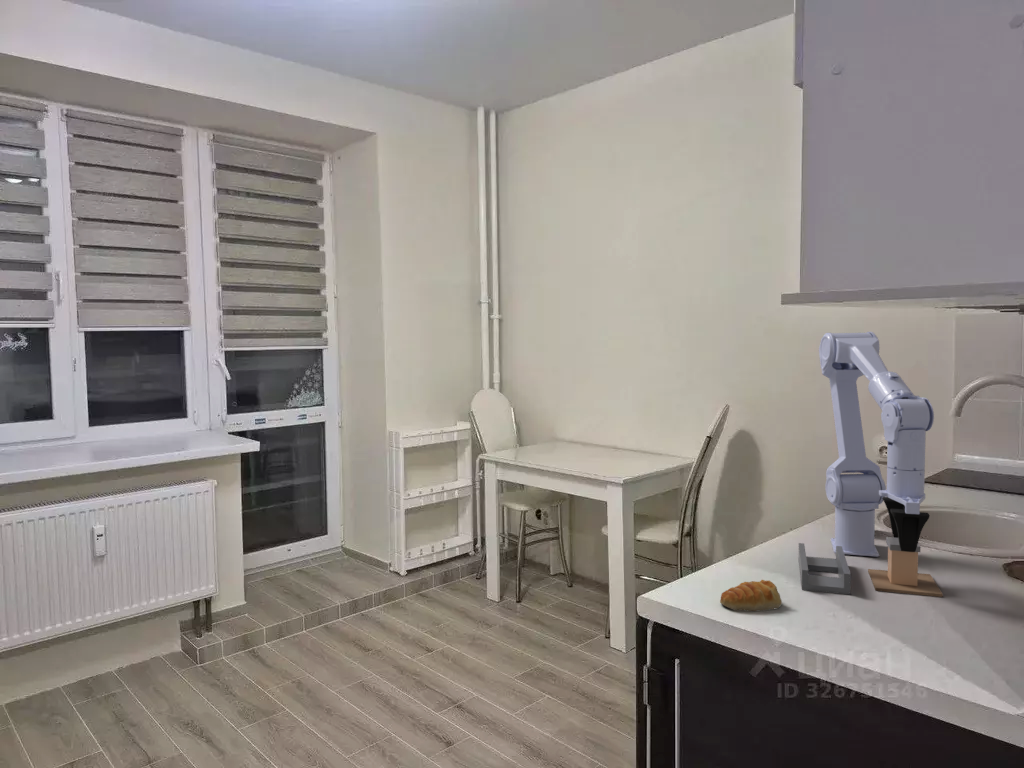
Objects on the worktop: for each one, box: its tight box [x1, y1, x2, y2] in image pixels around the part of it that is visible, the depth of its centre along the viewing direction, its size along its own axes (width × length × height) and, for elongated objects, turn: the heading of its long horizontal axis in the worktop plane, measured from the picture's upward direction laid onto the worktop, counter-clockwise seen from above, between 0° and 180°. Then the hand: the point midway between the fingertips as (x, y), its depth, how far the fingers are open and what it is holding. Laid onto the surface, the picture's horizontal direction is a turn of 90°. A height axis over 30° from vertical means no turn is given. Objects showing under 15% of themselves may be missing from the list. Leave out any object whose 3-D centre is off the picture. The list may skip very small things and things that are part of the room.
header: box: [797, 542, 852, 595], centre depth 128 cm, size 16×8×4 cm, turn 160°
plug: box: [885, 536, 922, 586], centre depth 124 cm, size 5×5×7 cm
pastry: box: [719, 579, 783, 612], centre depth 116 cm, size 9×7×4 cm
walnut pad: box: [867, 568, 944, 598], centre depth 124 cm, size 10×10×1 cm
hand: (903, 544), depth 123 cm, fingers open, 7 cm apart
